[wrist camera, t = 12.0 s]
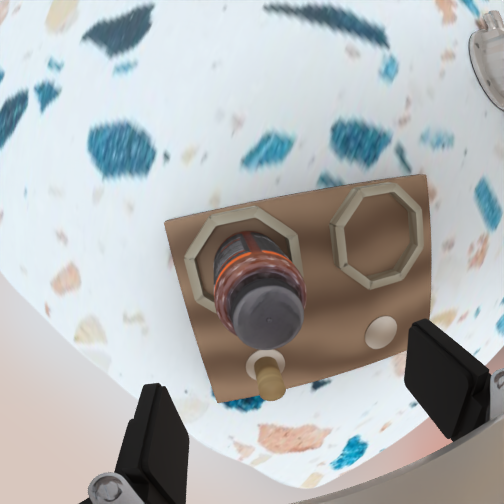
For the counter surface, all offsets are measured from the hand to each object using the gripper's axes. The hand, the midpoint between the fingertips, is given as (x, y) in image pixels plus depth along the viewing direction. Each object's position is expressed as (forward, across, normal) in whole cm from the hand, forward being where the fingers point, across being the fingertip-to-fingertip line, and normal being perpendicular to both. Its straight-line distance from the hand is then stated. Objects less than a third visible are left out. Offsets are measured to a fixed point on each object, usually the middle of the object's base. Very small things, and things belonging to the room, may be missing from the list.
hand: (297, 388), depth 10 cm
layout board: (+19, -6, +5) cm, 21 cm away
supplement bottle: (+18, 0, 0) cm, 18 cm away
